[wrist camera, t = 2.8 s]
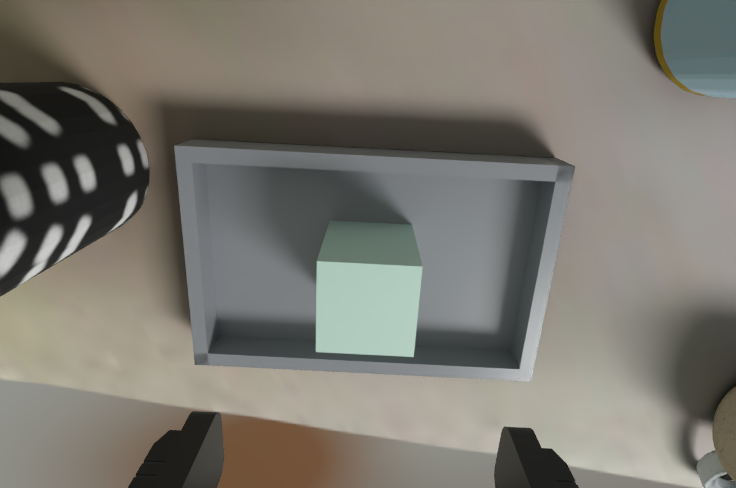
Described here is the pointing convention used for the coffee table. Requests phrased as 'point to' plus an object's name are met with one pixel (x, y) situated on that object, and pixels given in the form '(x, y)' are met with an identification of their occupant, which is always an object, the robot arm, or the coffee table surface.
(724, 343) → the coffee table surface
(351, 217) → the gray tray
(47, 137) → the white-spotted black cylinder
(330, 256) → the sage block
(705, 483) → the ceramic mug
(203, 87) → the coffee table surface
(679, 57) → the bottle
